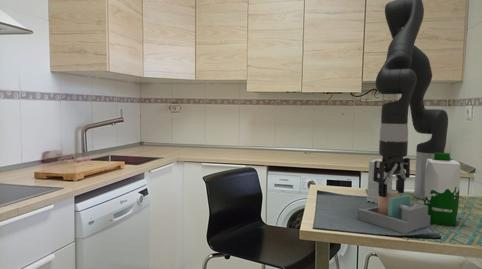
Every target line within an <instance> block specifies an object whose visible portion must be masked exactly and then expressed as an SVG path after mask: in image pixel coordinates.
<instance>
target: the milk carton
mask: <svg viewBox="0 0 482 269" xmlns="http://www.w3.org/2000/svg"><path fill="white" fill-rule="evenodd" d="M450 156H451V155H450V153H449V152H444V153H440V152H436V153H434V159H427V162H426V173H425V188H424V199H423V205H427V206H428V215H430V216H431V217H430V224H435V225H441V226H442V225H443V226H445V225H446V226H453V227H456V226H457V225H456V224H457V220H458V219H457V218H458V210H459V205H460V204H459V202H460V188H461V185H460V184H461V165H462V164H461V163H460V162H459V161H457V160H455V159H450Z"/></svg>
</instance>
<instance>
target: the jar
mask: <svg viewBox="0 0 482 269" xmlns="http://www.w3.org/2000/svg"><path fill="white" fill-rule="evenodd" d="M400 195H401V193H399V192H398V191H397V190H396V188H395V189H393V188H392V189H387V197H380V196H379V198H378V204H377V205H378V213H379V214H383V215H386V216H388V201H389V198H392V197H397V196H400Z"/></svg>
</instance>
